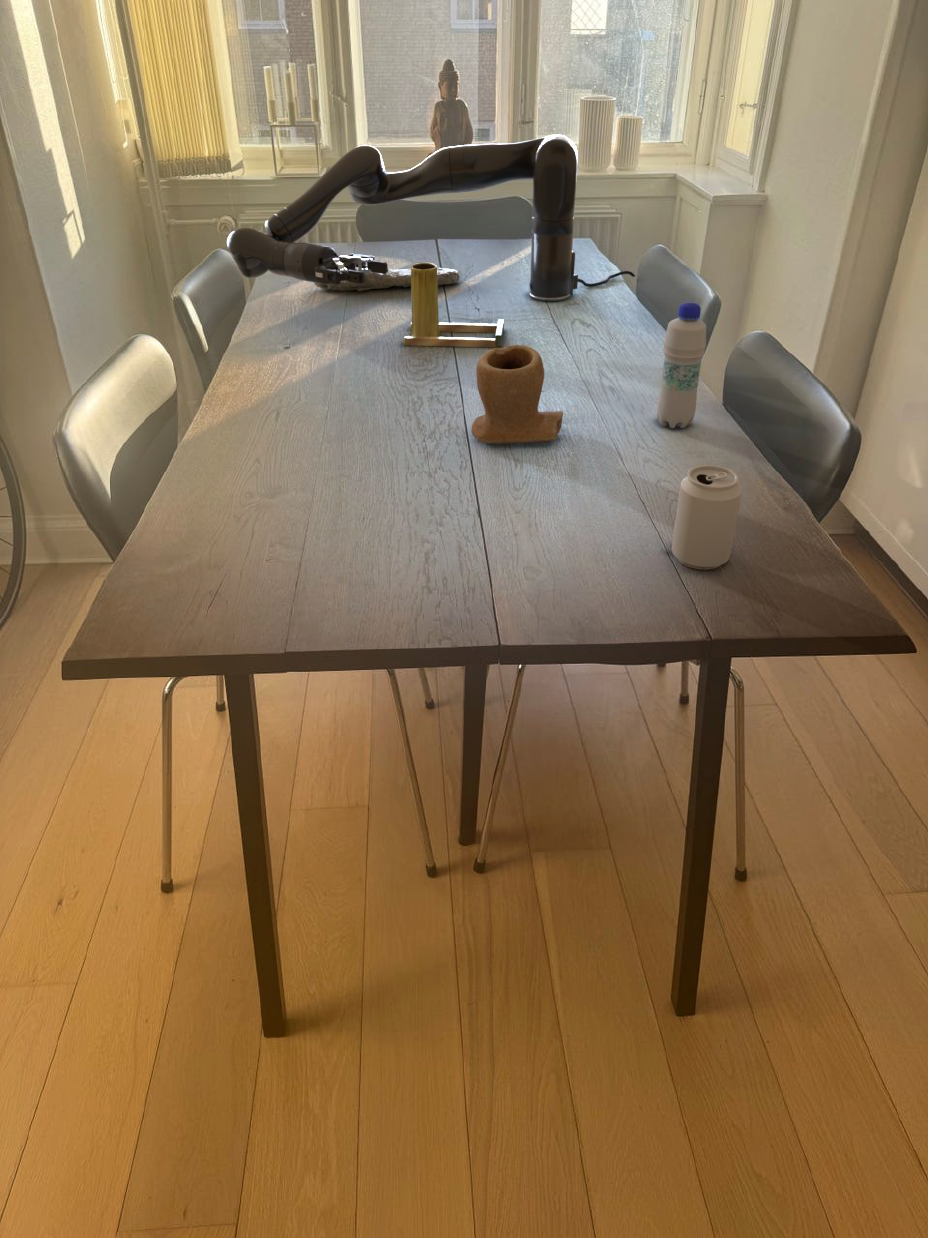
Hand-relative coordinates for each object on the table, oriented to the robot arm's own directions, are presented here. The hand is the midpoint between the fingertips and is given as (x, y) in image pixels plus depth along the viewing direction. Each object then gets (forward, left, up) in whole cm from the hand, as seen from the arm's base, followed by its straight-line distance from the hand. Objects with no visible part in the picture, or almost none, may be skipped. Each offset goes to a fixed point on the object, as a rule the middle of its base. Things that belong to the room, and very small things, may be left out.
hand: (375, 272), depth 194 cm
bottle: (-13, +72, -12) cm, 74 cm away
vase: (-5, +10, -12) cm, 16 cm away
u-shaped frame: (-9, +14, -12) cm, 20 cm away
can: (+17, +104, -12) cm, 106 cm away
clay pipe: (+12, +61, -12) cm, 63 cm away
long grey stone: (-20, -26, -12) cm, 35 cm away
